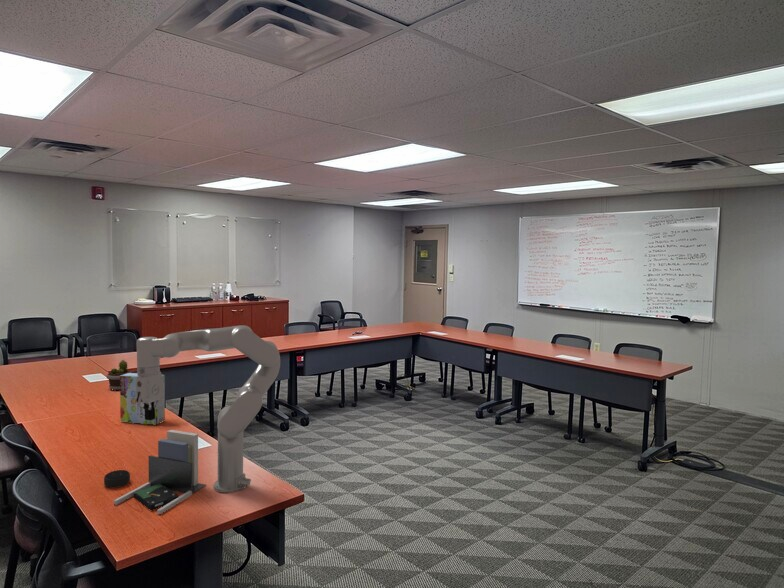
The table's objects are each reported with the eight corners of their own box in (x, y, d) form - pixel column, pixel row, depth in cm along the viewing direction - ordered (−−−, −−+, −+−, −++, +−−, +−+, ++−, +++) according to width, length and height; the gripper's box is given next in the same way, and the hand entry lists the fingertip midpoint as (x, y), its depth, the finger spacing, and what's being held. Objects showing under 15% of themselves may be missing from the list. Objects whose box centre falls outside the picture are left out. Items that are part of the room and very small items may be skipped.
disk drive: (179, 502, 185) (160, 489, 195) (179, 495, 185) (160, 482, 195) (150, 512, 178) (132, 498, 187) (150, 504, 177) (132, 491, 187)
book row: (198, 483, 199) (198, 433, 198) (184, 491, 192) (184, 440, 191) (171, 478, 203) (171, 429, 202) (157, 486, 196) (157, 435, 195)
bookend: (206, 485, 198) (206, 455, 198) (191, 494, 190) (191, 463, 189) (164, 477, 204) (164, 448, 204) (148, 486, 196) (148, 455, 196)
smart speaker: (119, 490, 193) (119, 479, 193) (98, 487, 194) (98, 477, 194) (134, 480, 202) (134, 470, 201) (115, 478, 203) (115, 468, 203)
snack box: (166, 421, 274) (166, 374, 272) (155, 426, 265) (155, 377, 264) (130, 418, 278) (129, 371, 276) (119, 422, 269) (118, 375, 267)
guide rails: (191, 494, 190) (191, 490, 190) (160, 514, 175) (160, 510, 175) (148, 485, 197) (148, 482, 196) (113, 504, 181) (113, 500, 181)
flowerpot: (118, 393, 326) (118, 362, 325) (101, 390, 332) (101, 360, 330) (137, 388, 340) (137, 358, 339) (120, 385, 345) (120, 356, 344)
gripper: (142, 375, 178) (143, 426, 180) (171, 367, 193) (172, 414, 194) (124, 374, 180) (126, 424, 182) (154, 365, 195) (155, 412, 196)
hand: (150, 419), depth 188 cm, fingers closed
